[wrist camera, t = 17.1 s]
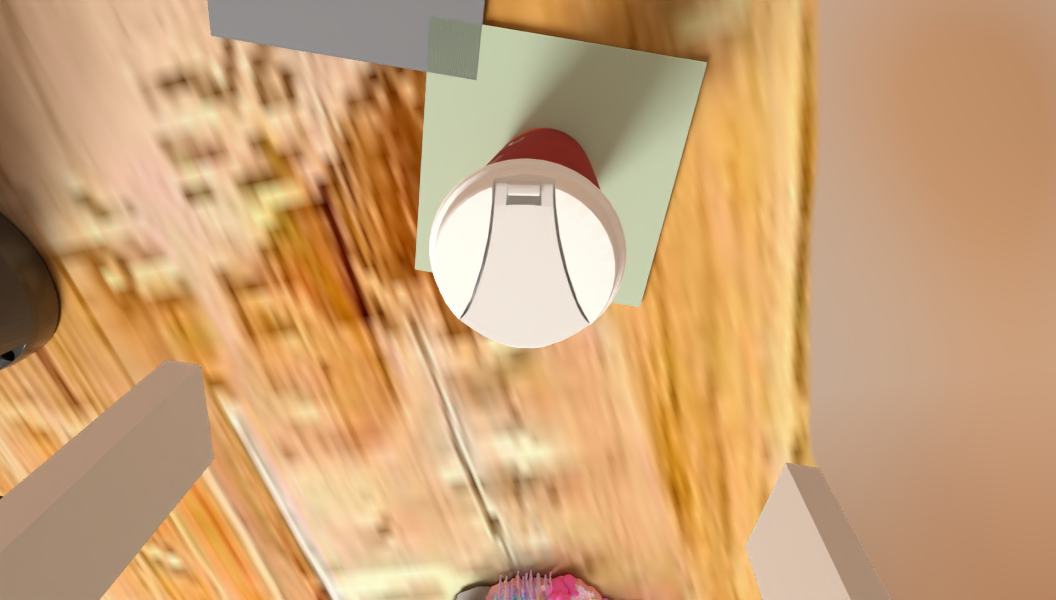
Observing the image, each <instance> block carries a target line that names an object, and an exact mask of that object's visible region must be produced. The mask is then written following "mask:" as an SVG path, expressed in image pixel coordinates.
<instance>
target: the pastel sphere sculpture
mask: <svg viewBox="0 0 1056 600" xmlns="http://www.w3.org/2000/svg"><path fill="white" fill-rule="evenodd" d="M527 577H528V573H526V575H525V576H522V579H521V577H520V576H519V570H518V571H517V575H516V577H515V578H512V579H511V581H509V582H507V580H508V576H506V580H504V582H501V580H502V574H500V579H499V583H498V584H496V585H494V586H492V587H489V586H486V587H483V586H478V587H475V588H472V589H470V590H467V591H464V592H462V593H459V594H458V595H457V599H456V600H609V599H607V598H602V596H601V595H600V594H599V593H598V592H597V590H596V589H595V588H594V587H592V586H587V585H586V584H585V583H584V582H583V581H582V580H581V579H579V578H575V577H574V576H573V575H571V574H566V575H565V576H558V577H556V578H553V579H551V571H550V574H549V578H550V579H549V578H547V575H545V578H542V577H540V573H537V577H535V578H533V576H532V569H531V570H530V576H529V580H527Z"/></svg>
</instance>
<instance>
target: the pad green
mask: <svg viewBox="0 0 1056 600" xmlns="http://www.w3.org/2000/svg"><path fill="white" fill-rule="evenodd" d="M439 19H440V18H439V17H438V20H436V19H435V20H434V16H433V23H432V26H433V32H434V33H432V26H431V29H430V39H429V40H430V52H429V53H430V65H432V62H433V54H432V61H431V53H432V51H431V33H432V35H434V34H435V30H434V22H437V21H438V23H439ZM430 20H432V16H430ZM446 21H447V23H446ZM449 21H450V20H449ZM453 22H454V20H453ZM465 23H466V22H464V26H466V27H467V23H466V25H465ZM447 24H448V19H447V20H446V18H445V25H446V26H447ZM459 24H460V21H459ZM430 25H431V21H430ZM455 25H456V20H455ZM455 25H454V29H455ZM461 25H463V21H461ZM480 25H481V24H480ZM458 26H459V25H458V20H457V26H456V29H457V30H459V28H458ZM448 27H449V26H448ZM450 27H451V23H450ZM460 27H461V26H460ZM469 27H470V22H469ZM438 28H439V26H438V25H437V29H438ZM440 28H441V19H440ZM442 28H443V19H442ZM452 28H453V23H452ZM476 28H477V29H478V28H479V24H478V25H477V24H476ZM435 29H436V23H435ZM461 29H462V27H461ZM463 29H464V36H465V39H466V34H465V27H463ZM441 30H442V31H441V32H440V33H439V30H438V33H439V34H440V37H441V33H442V39H441V40H442V41H441V40H440V38H439V39H438V37H437V41H439V42H440V41H441V42H440V43H442V46H441V45H440V48H442V53H441V52H440V51H439V55H440V54H442V55H443V45H444V41H445V42H446V40H445V35H444V34H445V33H446V27H445V33H443V32H444V31H443V29H441ZM454 31H455V30H454ZM474 31H475V30H474V23H473V32H474ZM452 32H453V31H452ZM456 32H457V39H458V31H456ZM461 32H462V33H461V39H460V32H459V39H460V40H461V41H460V42H461V44H463V43H464V42H463V41H464V40H463V41H462V34H463V31H461ZM469 32H470V30H469V29H468V33H469ZM471 32H472V23H471ZM477 32H478V31H477V30H476V37H477ZM436 33H437V31H436ZM438 33H437V34H438ZM453 33H455V32H453ZM466 33H467V28H466ZM479 33H480V32H478V38H477V43H479V37H480V47H479V45H478V50H479V48H480V51H479V58H478V53H477V58H478V64H477V70H478V71H477V80H476V74H475V73H476V69H475V71H474V69H473V68H472V71H474V74H475V76H474V77H475V80H474V79H473V80H472V78H470V77H471V63H472V62H470V61H469V54H468V51H467V52H465V53H466V54H465V56H466V60H465V64H467V67H466V66H465V67H466V69H464V70H465V71H467V69H468V77H469V79H466V72H465V71H464V72H465V78H464V72H463V78H462V77H461V71H460V77H459V76H458V77H456V73H455V75H454V70H455V72H456V69H454V70H453V76H452V68H453V66H454V68H455V63H454V60H453V65H452V66H451V64H452V55H453V52H452V45H451V48H450V40H451V36H450V29H449V39H447V38H448V28H447V34H446V39H447V40H449V59H450V57H451V61H450V66H451V75H450V76H449V74H450V67H449V65H448V64H447V60H446V58H445V59H443V58H441V59H442V60H441V61H442V63H444V64H445V60H446V66H447V65H448V66H447V68H448V67H449V74H448V75H447V68H446V73H445V71H444V72H443V70H445V65H444V67H443V65H442V63H441V67H442V68H443V70H442V72H443V73H444V75H443V73H442V74H441V72H440V58H439V57H438V50H437V51H436V49H435V50H434V51H436V52H437V59H438V60H439V63H437V64H436V63H435V62H434V65H433V66H435V67H436V65H437V74H436V73H435V68H434V67H433V66H432V73H430V71H429V72H427V77H426V94H425V111H424V127H423V144H422V161H421V177H420V194H419V211H418V227H417V244H416V261H415V269H416V270H422V271H428V272H433V271H432V267H431V262H430V256H429V240H430V234H431V228H432V225H433V222H434V219H435V216H436V213H437V211H438V210H439V208H440V206H441V204H442V202H443V201H444V199H445V198H446V197H447V195H448V194H449V193H450V192H451V190H452V189H453V188H454V187H455V186H456V185H457V184H459V183H460V182H461V181H462V180H463V179H464V178H465V177H467V176H469V175H470V174H472V173H473V172H475V171H477V170H478V169H481V168H483V167H485V166H486V165H487V164H488V163H489V162H490V161H491V160H492V159H493V158H494V157H495V155H496V154H497V153H498V152H499V151H500V150H501V149H502V148H503V147H504V146H505V145H506V144H507V143H509V142H510V141H511V140H512V139H513V138H515V137H516V136H518V135H519V134H521V133H523V132H525V131H528V130H531V129H535V128H552V129H556V130H559V131H562V132H564V133H566V134H568V135H570V136H571V137H572V138H574V139H575V140H576V141H577V142H578V143H579V144H580V145H581V147H582V148H583V150H584V151H585V153H586V154H587V156H588V158H589V161H590V163H591V165H592V168H593V171H594V173H595V176H596V179H597V181H598V184H599V187H600V190H601V191H602V193H603V194H604V195H605V196H606V198H607V199H608V200H609V201H610V203H611V204H612V206H613V208H614V209H615V211H616V213H617V215H618V217H619V219H620V222H621V225H622V228H623V230H624V235H625V241H626V266H625V272H624V277H623V279H622V282H621V285H620V288H619V290H618V292H617V294H616V295H615V297H614V299H613V301H612V303H618V304H624V305H630V306H636V307H640V306H641V302H642V298H643V295H644V291H645V287H646V284H647V280H648V276H649V273H650V269H651V266H652V262H653V258H654V255H655V251H656V247H657V244H658V240H659V237H660V233H661V229H662V226H663V222H664V218H665V215H666V211H667V207H668V204H669V200H670V197H671V193H672V189H673V186H674V182H675V178H676V175H677V171H678V168H679V164H680V160H681V157H682V153H683V149H684V146H685V142H686V138H687V135H688V131H689V128H690V124H691V120H692V117H693V113H694V109H695V106H696V102H697V99H698V95H699V91H700V88H701V84H702V80H703V77H704V73H705V69H706V66H707V62H704V61H698V60H692V59H686V58H680V57H674V56H668V55H662V54H656V53H650V52H644V51H638V50H632V49H626V48H620V47H614V46H608V45H602V44H596V43H591V42H585V41H579V40H573V39H567V38H561V37H555V36H549V35H543V34H537V33H531V32H525V31H519V30H513V29H507V28H501V27H495V26H489V25H482V27H481V33H480V36H479ZM439 34H438V36H439ZM443 35H444V39H443ZM453 35H454V34H453ZM472 35H473V36H474V37H473V36H471V37H468V40H470V39H469V38H471V41H472V38H473V56H471V55H470V60H471V58H472V57H473V58H472V59H474V60H473V61H475V57H476V50H475V57H474V47H475V46H474V45H476V46H477V43H476V39H475V43H474V38H476V37H475V32H474V33H473V34H472ZM434 36H435V35H434ZM469 36H470V35H469ZM433 38H434V37H433ZM433 38H432V40H433V45H434V47H435V46H436V37H435V38H434V39H435V43H434V39H433ZM463 39H464V38H463ZM455 40H456V39H455V37H454V46H455ZM452 41H453V36H452ZM456 42H457V41H456ZM465 43H466V47H465ZM465 43H464V45H463V46H464V49H465V51H466V50H467V41H466V42H465ZM469 44H470V45H472V44H471V43H469V41H468V45H469ZM438 45H439V44H438ZM447 46H448V41H447ZM454 46H453V48H454ZM456 47H457V49H458V44H457V45H456ZM471 47H472V46H471ZM428 48H429V44H428ZM436 48H437V47H436ZM440 48H438V49H440ZM445 48H446V47H445V45H444V53H445ZM476 49H477V48H476ZM450 51H451V53H450ZM436 52H435V56H434V61H436V60H435V59H436ZM459 52H460V45H459V51H457V50H456V51H455V49H454V59H455V58H456V60H457V58H458V60H459ZM471 52H472V49H471ZM457 53H458V57H456V56H455V54H456V55H457ZM460 53H461V54H460V55H461V66H462V58H463V57H462V55H463V54H462V45H461V52H460ZM469 53H470V51H469ZM446 54H447V58H448V53H447V48H446ZM451 54H452V55H451ZM467 54H468V57H467ZM470 54H471V53H470ZM450 55H451V56H450ZM445 57H446V55H445ZM467 58H468V63H470V65H469V64H468V63H467ZM443 60H444V62H443ZM458 60H457V61H458ZM476 60H477V59H476ZM448 61H449V60H448ZM428 63H429V61H427V71H428V68H429V70H430V68H431V67H429V66H428ZM438 65H439V70H438ZM459 65H460V64H459V63H458V71H457V72H458V73H459V69H460V68H459V67H460V66H459ZM468 65H469V66H470V67H468ZM472 65H473V67H474V62H473V64H472ZM463 66H464V58H463ZM465 67H464V68H465ZM433 68H434V73H433ZM456 68H457V63H456ZM469 68H470V69H469ZM475 68H476V63H475ZM462 69H463V67H462ZM469 70H470V76H469ZM462 71H463V70H462ZM438 73H440V74H438ZM474 74H473V75H474Z"/></svg>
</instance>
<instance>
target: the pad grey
mask: <svg viewBox="0 0 1056 600" xmlns="http://www.w3.org/2000/svg"><path fill="white" fill-rule="evenodd" d="M485 1H486V0H208V10H209V19H210V29H211V36H216V37H222V38H228V39H234V40H240V41H246V42H252V43H258V44H264V45H270V46H276V47H282V48H288V49H294V50H300V51H306V52H312V53H317V54H323V55H329V56H335V57H341V58H347V59H353V60H359V61H365V62H371V63H377V64H383V65H389V66H395V67H401V68H407V69H413V70H419V71H424V72H429V71H430V73H432V66H433V65H434V62H435V63H436V64H437V63H439V60H438V59H437V52H436V51H437V50H438V57H439V58H440V72H441V74H442V73H443V72H444V71H445V73H446V68H447V66H448V65H449V67H450V74H449V67H448V68H447V75H448V74H449V76H450V75H451V66H452V65H453V60H454V63H455V68H454V66H453V68H452V76H453V70H454V69H456V72H455V70H454V75H455V73H456V77H458V76H459V77H460V71H461V77H462V78H463V72H464V71H465V70H464V69H466V67H467V64H465V60H466V56H465V54H466V53H465V52H467V51H468V54H469V61H470V62H472V63H471V77H470V78H472V80H473V79H474V80H475V77H474V76H475V74H476V80H477V71H478V70H477V64H478V58H479V51H480V48H479V50H478V45H479V47H480V37H479V43H477V38H478V32H480V33H481V27H482V25H483V21H484V11H485ZM430 16H432V20H430ZM433 16H434V20H435V19H436V20H438V17H439V18H440V19H441V28H440V19H439V23H438V21H437V22H434V30H435V34H434V35H435V36H434V35H432V33H434V32H433V26H432V23H433ZM445 18H446V20H447V19H448V24H447V26H446V25H445ZM442 19H443V28H442ZM449 20H450V21H449ZM453 20H454V22H453ZM455 20H456V25H455ZM457 20H458V25H459V26H458V28H459V30H457V29H456V26H457ZM430 21H431V25H430ZM459 21H460V24H459ZM461 21H463V25H461ZM464 22H466V23H467V27H466V26H464ZM469 22H470V27H469ZM435 23H436V29H435ZM446 23H447V21H446ZM450 23H451V27H450ZM452 23H453V28H452ZM466 23H465V25H466ZM471 23H472V32H471ZM473 23H474V30H475V31H474V32H475V37H476V30H477V31H478V32H477V37H476V38H474V43H475V39H476V43H477V46H476V45H474V46H475V47H474V57H475V50H476V57H475V61H473V60H474V59H472V58H473V57H472V58H471V60H470V55H471V56H473V38H472V41H471V38H469V39H470V40H468V37H471V36H473V35H472V34H473V33H474V32H473ZM476 24H477V25H478V24H479V28H478V29H477V28H476ZM480 24H481V25H480ZM437 25H438V26H439V28H438V29H437ZM454 25H455V29H454ZM431 26H432V33H431V51H432V53H431V61H432V54H433V62H432V65H430V53H429V52H430V40H429V39H430V29H431ZM448 26H449V27H448ZM460 26H461V27H462V29H461V27H460ZM445 27H446V33H445ZM463 27H465V34H466V39H465V36H464V29H463ZM447 28H448V38H447V39H449V29H450V36H451V40H450V48H451V45H452V52H453V55H452V54H451V55H452V64H451V66H450V61H451V57H450V59H449V40H447V39H446V34H447ZM466 28H467V33H466ZM441 29H443V31H444V32H443V33H445V34H444V35H445V40H446V42H445V41H444V45H445V47H446V48H447V53H448V58H447V54H446V48H445V53H444V45H443V55H442V54H440V55H439V51H440V52H441V53H442V48H440V45H441V46H442V43H440V42H441V41H442V40H441V39H442V33H441V37H440V34H439V33H440V32H441V31H442V30H441ZM468 29H469V30H470V32H469V33H468ZM438 30H439V33H438ZM454 30H455V31H454ZM436 31H437V33H438V34H439V36H438V34H437V33H436ZM452 31H453V32H455V33H453V32H452ZM456 31H458V39H457V32H456ZM461 31H463V34H462V41H463V40H464V41H463V42H464V43H465V42H466V41H467V50H466V51H465V49H464V46H463V45H464V43H463V44H461V42H460V41H461V40H460V39H461V33H462V32H461ZM459 32H460V39H459ZM480 33H479V36H480ZM453 34H454V35H453ZM444 35H443V39H444ZM469 35H470V36H469ZM452 36H453V41H452ZM433 37H434V38H435V37H436V46H435V47H434V45H433V40H432V38H433ZM437 37H438V39H439V38H440V40H441V41H440V42H439V41H437ZM454 37H455V39H456V40H455V46H454ZM473 37H474V36H473ZM434 38H433V39H434ZM463 38H464V39H463ZM447 41H448V46H447ZM456 41H457V42H456ZM468 41H469V43H471V44H472V45H470V44H469V45H468ZM434 43H435V39H434ZM428 44H429V48H428ZM438 44H439V45H438ZM457 44H458V49H457V47H456V45H457ZM459 45H460V52H461V45H462V54H463V55H462V57H463V58H464V66H463V58H462V66H461V55H460V54H461V53H460V52H459V60H458V58H457V60H458V61H457V60H456V58H455V59H454V49H455V51H456V50H457V51H459ZM453 46H454V48H453ZM471 46H472V47H471ZM436 47H437V48H436ZM465 47H466V43H465ZM438 48H440V49H438ZM476 48H477V49H476ZM435 49H436V51H434V50H435ZM471 49H472V52H471ZM469 51H470V53H471V54H470V53H469ZM435 52H436V59H435V60H436V61H434V56H435ZM450 53H451V51H450ZM477 53H478V58H477ZM468 54H467V57H468ZM445 55H446V57H445ZM451 55H450V56H451ZM455 56H456V57H458V53H457V55H456V54H455ZM441 58H443V59H445V58H446V60H447V64H448V65H447V66H446V60H445V64H444V63H442V61H441V60H442V59H441ZM476 59H477V60H476ZM448 60H449V61H448ZM427 61H429V63H428V66H429V67H431V68H430V70H429V68H428V71H427ZM443 62H444V60H443ZM473 62H474V67H473V65H472V64H473ZM441 63H442V65H443V67H444V65H445V70H443V68H442V67H441ZM456 63H457V68H456ZM458 63H459V64H460V65H459V66H460V67H459V68H460V69H459V73H458V72H457V71H458ZM467 63H468V58H467ZM475 63H476V68H475ZM468 64H469V65H470V63H468ZM469 65H468V67H470V66H469ZM465 66H466V67H465ZM433 67H434V68H435V73H436V74H437V65H436V67H435V66H433ZM462 67H463V69H462ZM464 67H465V68H464ZM434 68H433V73H434ZM472 68H473V69H474V71H475V69H476V73H475V74H474V71H472ZM469 69H470V68H469ZM438 70H439V65H438ZM442 70H443V72H442ZM462 70H463V71H462ZM465 72H466V79H469V77H468V69H467V71H465ZM465 72H464V78H465ZM438 74H440V73H438ZM473 74H474V75H473ZM443 75H444V73H443ZM469 76H470V70H469Z"/></svg>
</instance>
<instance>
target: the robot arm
mask: <svg viewBox="0 0 1056 600" xmlns="http://www.w3.org/2000/svg"><path fill="white" fill-rule="evenodd" d="M58 316H59V306H58V298H57V294H56V290H55V287H54V284H53V281H52V278H51V276H50V274H49V272H48V270H47V268H46V266H45V264H44V263H43V261H42V259H41V258H40V256H39V255H38V253H37V252H36V251H35V249H34V248H33V247H32V245H31V244H30V243H29V242H28V240H27V239H26V238H25V237H24V236H23V235H22V234H21V233H20V232H19V231H18V230H17V229H16V228H15V227H14V226H13V225H12V224H11V223H10V222H9V221H8V220H7V219H5V218H4V217H3V216H2V215H1V214H0V370H2V369H5V368H7V367H10V366H12V365H14V364H16V363H18V362H20V361H21V360H23V359H24V358H26V357H28V356H29V355H31V354H33V353H34V352H36V351H37V350H39V349H40V348H42V347H43V346H44V345H45V344H46V343H47V342H48V341H49V340H50V339H51V337H52V336H53V334H54V332H55V329H56V327H57V323H58ZM213 460H214V452H213V446H212V439H211V432H210V426H209V419H208V412H207V405H206V399H205V392H204V385H203V379H202V372H201V365H195V364H189V363H183V362H177V361H171V360H165V361H164V362H163V363H162V364H161V365H160V366H158V367H157V368H156V369H155V370H154V371H152V372H151V373H150V374H149V375H148V376H146V377H145V378H144V379H143V380H142V381H141V382H139V383H138V384H137V385H136V386H135V387H133V388H132V389H131V390H130V391H129V392H127V393H126V394H125V395H124V396H123V397H122V398H120V399H119V400H118V401H117V402H116V403H114V404H113V405H112V406H111V407H110V408H108V409H107V410H106V411H105V412H104V413H102V414H101V415H100V416H99V417H98V418H97V419H95V420H94V421H93V422H92V423H91V424H89V425H88V426H87V427H86V428H85V429H83V430H82V431H81V432H80V433H79V434H78V435H76V436H75V437H74V438H73V439H72V440H70V441H69V442H68V443H67V444H66V445H64V446H63V447H62V448H61V449H60V450H59V451H57V452H56V453H55V454H54V455H53V456H51V457H50V458H49V459H48V460H47V461H45V462H44V463H43V464H42V465H41V466H39V467H38V468H37V469H36V470H35V471H34V472H32V473H31V474H30V475H29V476H28V477H26V478H25V479H24V480H23V481H22V482H20V483H19V484H18V485H17V486H16V487H15V488H13V489H12V490H11V491H10V492H9V493H7V494H6V495H5V496H4V497H3V496H0V600H100V599H101V597H102V596H103V595H104V594H105V592H106V591H107V590H108V589H109V587H110V586H111V585H112V584H113V583H114V581H115V580H116V579H117V578H118V576H119V575H120V574H121V573H122V571H123V570H124V569H125V568H126V567H127V565H128V564H129V563H130V562H131V560H132V559H133V558H134V557H135V556H136V554H137V553H138V552H139V551H140V549H141V548H142V547H143V546H144V544H145V543H146V542H147V541H148V540H149V538H150V537H151V536H152V535H153V533H154V532H155V531H156V530H157V528H158V527H159V526H160V525H161V524H162V522H163V521H164V520H165V519H166V517H167V516H168V515H169V514H170V513H171V511H172V510H173V509H174V508H175V506H176V505H177V504H178V503H179V501H180V500H181V499H182V498H183V497H184V495H185V494H186V493H187V492H188V490H189V489H190V488H191V487H192V485H193V484H194V483H195V482H196V481H197V479H198V478H199V477H200V476H201V474H202V473H203V472H204V471H205V470H206V468H207V467H208V466H209V465H210V463H211V462H212V461H213ZM745 548H746V551H747V554H748V557H749V560H750V563H751V566H752V569H753V572H754V576H755V579H756V582H757V585H758V588H759V591H760V594H761V597H762V600H891V599H890V596H889V595H888V593H887V591H886V589H885V588H884V585H883V584H882V582H881V580H880V578H879V576H878V574H877V573H876V571H875V569H874V567H873V565H872V563H871V562H870V560H869V558H868V556H867V554H866V553H865V551H864V549H863V547H862V545H861V543H860V541H859V540H858V538H857V536H856V534H855V532H854V531H853V529H852V527H851V525H850V523H849V521H848V519H847V518H846V516H845V514H844V512H843V510H842V508H841V507H840V505H839V503H838V501H837V499H836V497H835V495H834V494H833V492H832V490H831V488H830V486H829V484H828V483H827V481H826V479H825V477H824V475H823V473H822V472H821V470H820V468H814V467H808V466H802V465H796V464H790V463H785V465H784V467H783V469H782V471H781V473H780V476H779V478H778V480H777V482H776V484H775V486H774V488H773V490H772V492H771V494H770V496H769V498H768V500H767V502H766V504H765V506H764V509H763V511H762V513H761V515H760V517H759V519H758V521H757V523H756V525H755V527H754V529H753V531H752V533H751V535H750V537H749V540H748V542H747V544H746V546H745Z"/></svg>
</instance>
